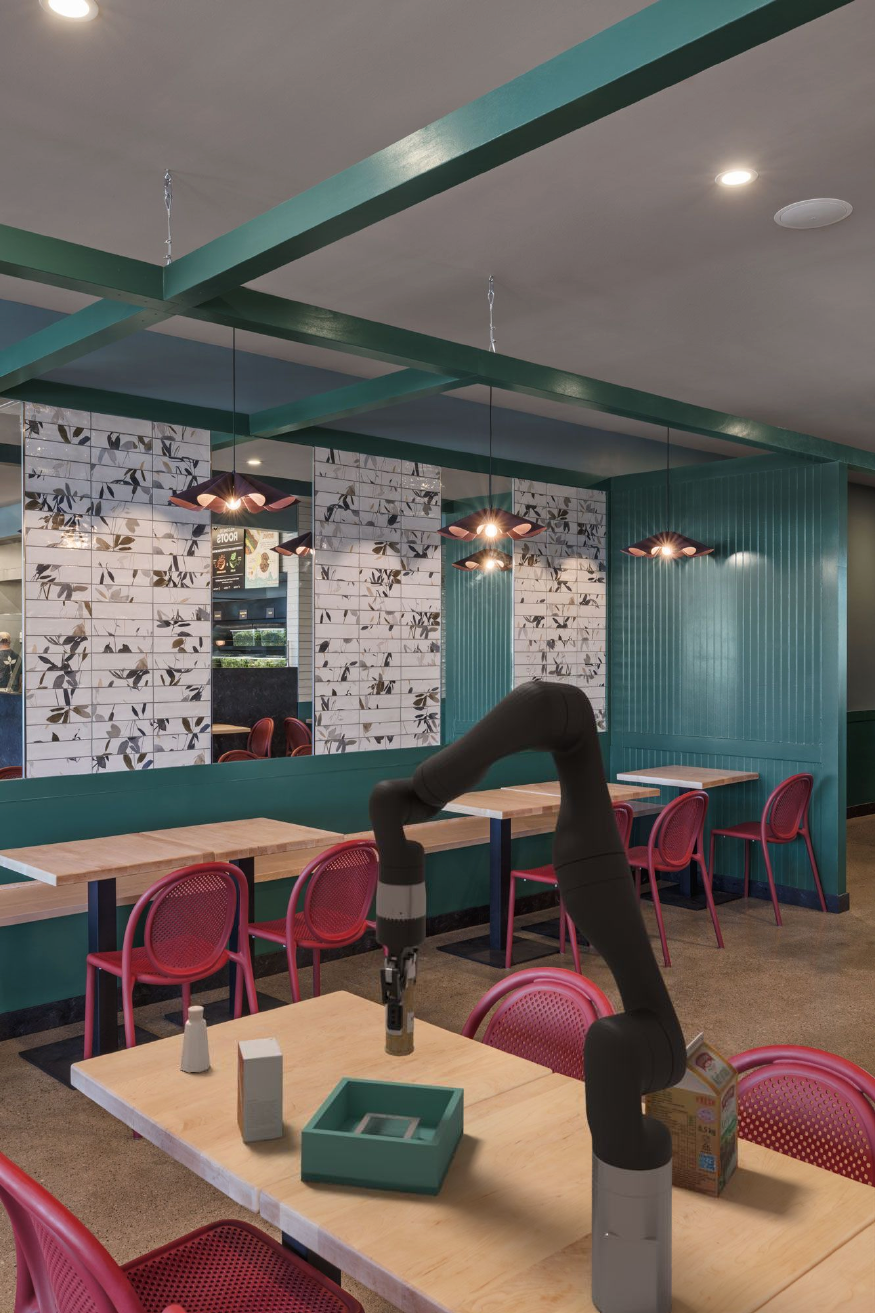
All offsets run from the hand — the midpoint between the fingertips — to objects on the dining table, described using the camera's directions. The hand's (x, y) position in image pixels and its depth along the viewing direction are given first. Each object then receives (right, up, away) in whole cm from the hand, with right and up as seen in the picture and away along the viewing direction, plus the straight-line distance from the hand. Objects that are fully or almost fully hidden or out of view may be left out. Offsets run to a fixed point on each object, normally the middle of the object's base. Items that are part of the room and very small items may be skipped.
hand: (399, 1023), depth 154 cm
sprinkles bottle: (0, -4, 0) cm, 4 cm away
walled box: (-2, -20, 0) cm, 20 cm away
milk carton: (+43, -20, -5) cm, 48 cm away
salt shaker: (-39, -20, +33) cm, 55 cm away
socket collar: (-2, -19, 0) cm, 19 cm away
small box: (-23, -20, +8) cm, 31 cm away
